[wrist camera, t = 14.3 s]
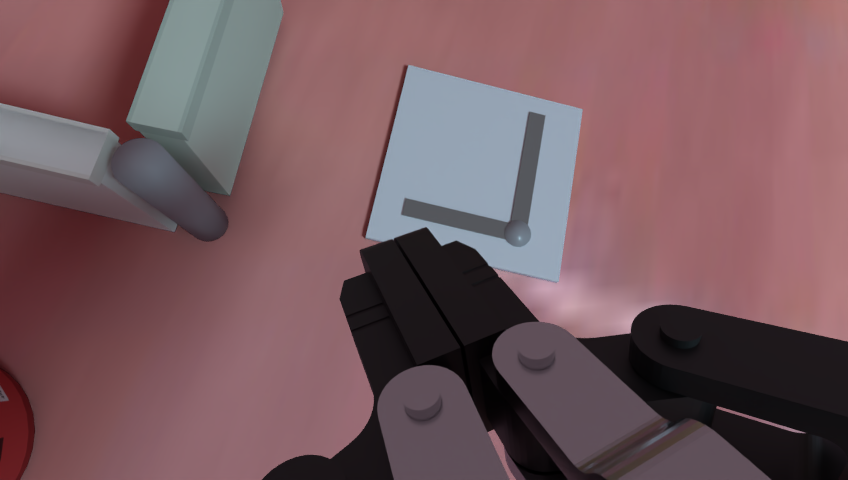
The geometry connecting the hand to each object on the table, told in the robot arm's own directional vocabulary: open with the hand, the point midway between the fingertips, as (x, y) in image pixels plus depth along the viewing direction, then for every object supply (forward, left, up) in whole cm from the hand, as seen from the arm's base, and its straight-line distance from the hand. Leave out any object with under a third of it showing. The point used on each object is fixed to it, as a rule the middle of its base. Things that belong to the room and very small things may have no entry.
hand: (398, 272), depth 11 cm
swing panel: (+7, +11, -13) cm, 19 cm away
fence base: (0, +15, -13) cm, 20 cm away
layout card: (+9, -1, -13) cm, 16 cm away
